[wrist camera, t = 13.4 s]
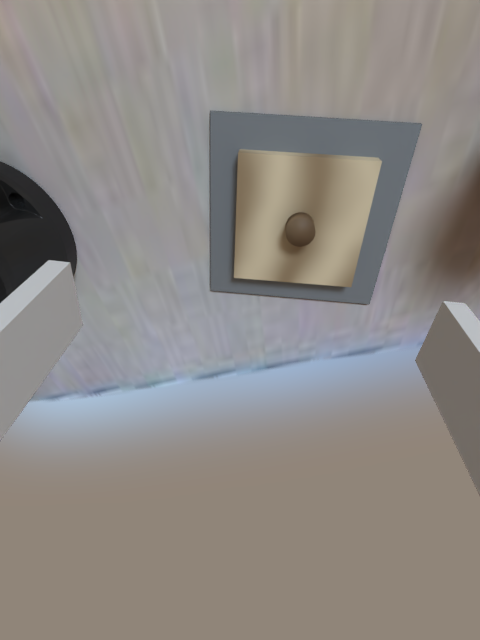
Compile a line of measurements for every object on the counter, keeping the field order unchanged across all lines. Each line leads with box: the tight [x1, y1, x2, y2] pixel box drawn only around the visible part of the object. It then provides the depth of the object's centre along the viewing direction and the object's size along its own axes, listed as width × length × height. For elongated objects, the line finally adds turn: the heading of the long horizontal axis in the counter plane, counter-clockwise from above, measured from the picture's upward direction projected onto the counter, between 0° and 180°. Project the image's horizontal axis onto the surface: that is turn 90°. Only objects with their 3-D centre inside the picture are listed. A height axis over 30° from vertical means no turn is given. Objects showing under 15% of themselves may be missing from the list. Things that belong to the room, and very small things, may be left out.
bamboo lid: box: [234, 149, 382, 287], centre depth 31 cm, size 11×11×3 cm
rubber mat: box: [210, 111, 422, 304], centre depth 33 cm, size 16×16×1 cm
